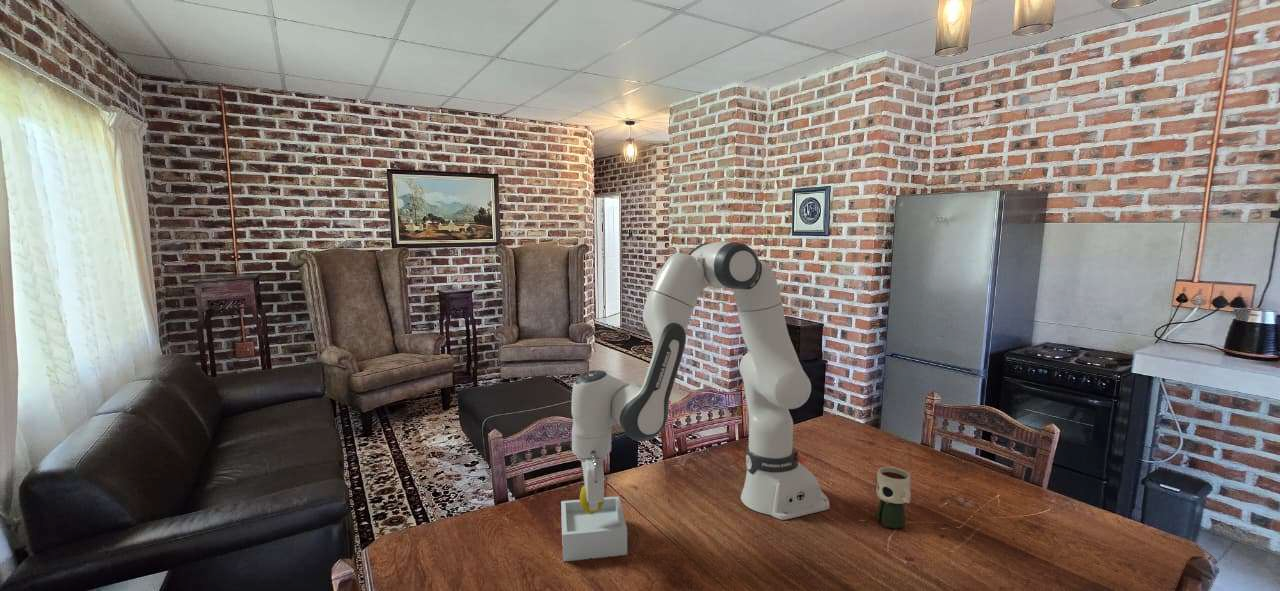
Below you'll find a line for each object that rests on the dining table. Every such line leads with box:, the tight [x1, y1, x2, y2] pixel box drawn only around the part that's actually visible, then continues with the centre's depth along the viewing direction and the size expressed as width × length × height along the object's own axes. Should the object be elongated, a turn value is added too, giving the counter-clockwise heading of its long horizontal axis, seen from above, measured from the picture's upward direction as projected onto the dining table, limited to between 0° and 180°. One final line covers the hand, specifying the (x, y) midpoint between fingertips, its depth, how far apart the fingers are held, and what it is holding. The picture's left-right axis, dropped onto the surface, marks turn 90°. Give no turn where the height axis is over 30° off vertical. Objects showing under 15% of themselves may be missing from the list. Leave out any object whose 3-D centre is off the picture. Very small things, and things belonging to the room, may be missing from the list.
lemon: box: [579, 484, 604, 514], centre depth 119 cm, size 6×6×8 cm
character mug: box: [875, 466, 912, 529], centre depth 126 cm, size 11×7×13 cm, turn 14°
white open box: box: [560, 495, 628, 562], centre depth 120 cm, size 14×14×6 cm
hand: (592, 500), depth 119 cm, fingers closed on lemon, 5 cm apart
